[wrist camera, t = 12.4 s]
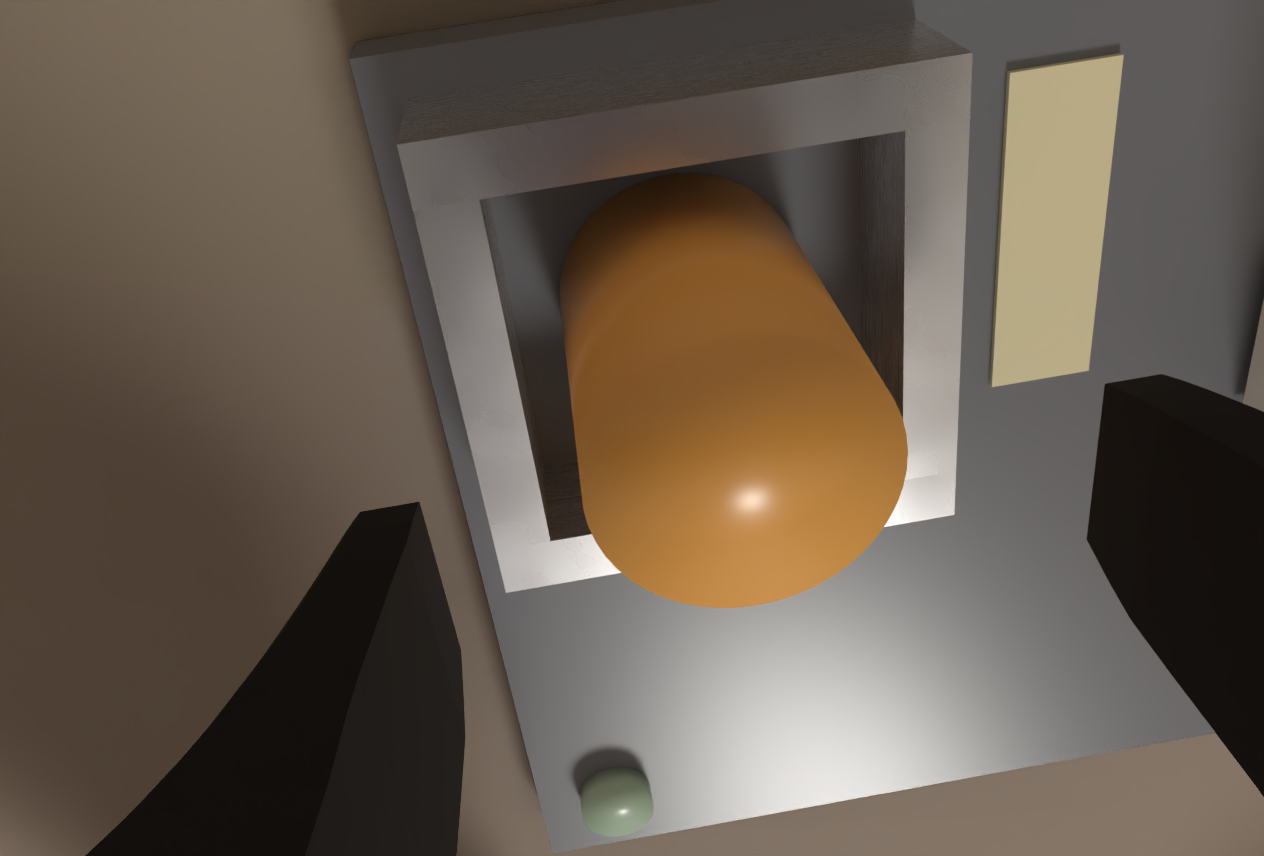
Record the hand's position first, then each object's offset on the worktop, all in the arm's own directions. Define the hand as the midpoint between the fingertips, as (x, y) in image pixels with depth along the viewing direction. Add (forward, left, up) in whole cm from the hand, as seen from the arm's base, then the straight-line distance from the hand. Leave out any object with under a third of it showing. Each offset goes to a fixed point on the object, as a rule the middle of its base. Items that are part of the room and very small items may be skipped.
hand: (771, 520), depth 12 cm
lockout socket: (0, 0, -6) cm, 6 cm away
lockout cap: (0, 0, -6) cm, 6 cm away
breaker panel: (-4, -5, -7) cm, 9 cm away
